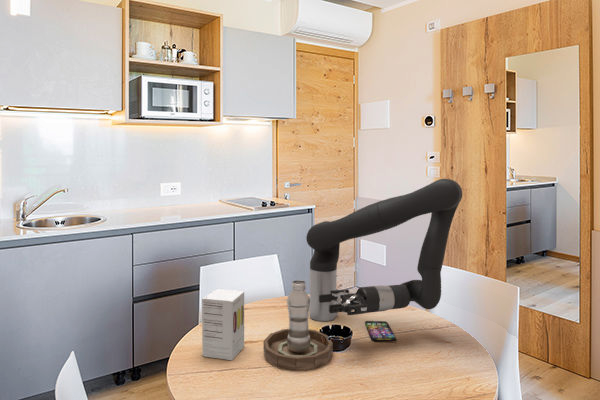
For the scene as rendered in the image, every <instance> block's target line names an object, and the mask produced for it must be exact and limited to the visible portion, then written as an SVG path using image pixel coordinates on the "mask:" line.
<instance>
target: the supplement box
mask: <svg viewBox="0 0 600 400" xmlns="http://www.w3.org/2000/svg"><path fill="white" fill-rule="evenodd" d="M201 323H202V324H201V325H202V326H201V329H202V330H201V331H202V333H201V334H202V335H201V336H202V347H201V349H202V350H201V351H202V357H205V358H213V359H218V360H219V359H221V360H225V361H226V360H228V361H233V360H234V359H235V358H236V357H237V356H238V355H239V353H240V352H241V351H242V349H244V348H245V291H243V290H242V291H241V290H234V289H233V290H230V289H223V288H221V289H219V288H218V289H217V288H215V289H214V290H213V291H212V292H210V293H208V294H207V295H206V296H203V298H201Z"/></svg>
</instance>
